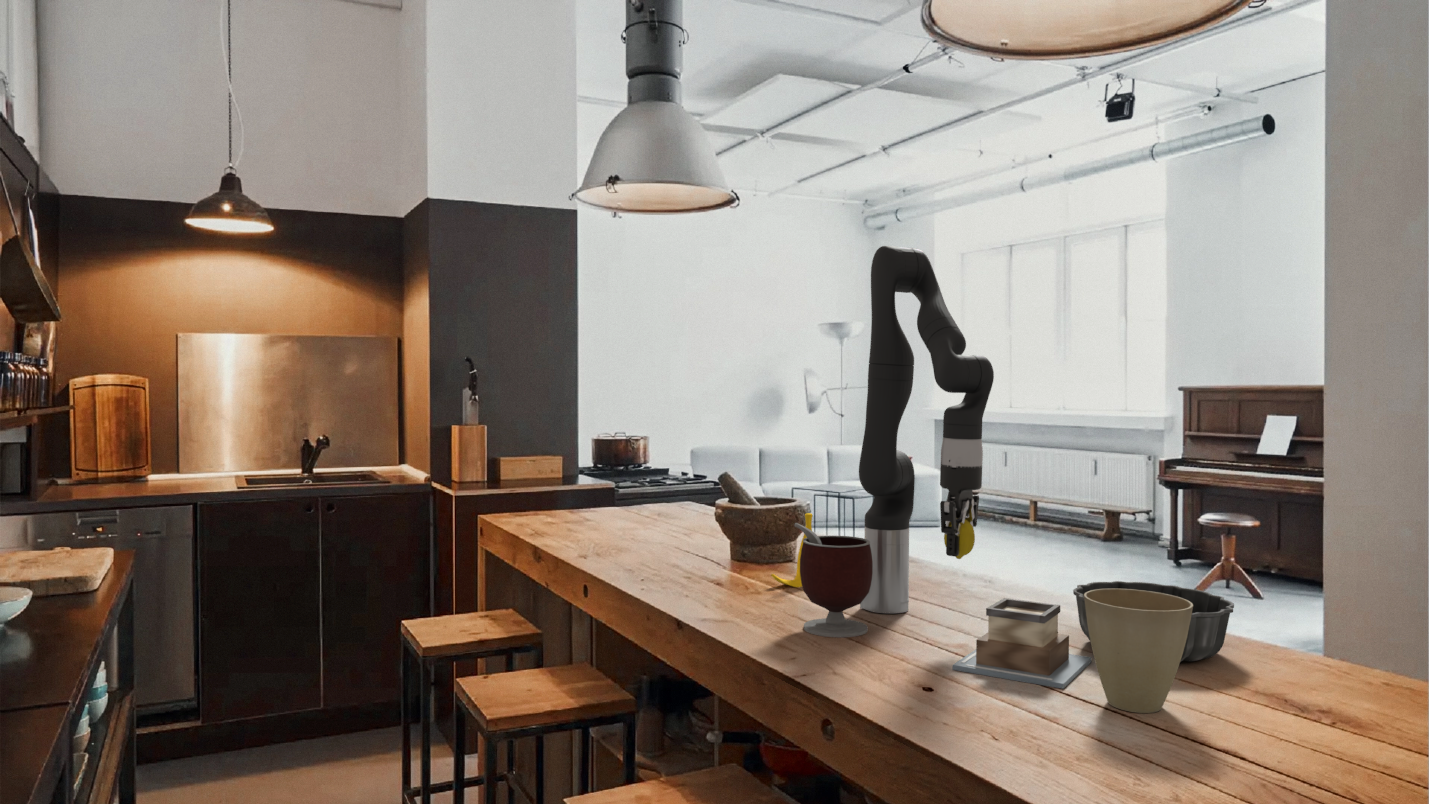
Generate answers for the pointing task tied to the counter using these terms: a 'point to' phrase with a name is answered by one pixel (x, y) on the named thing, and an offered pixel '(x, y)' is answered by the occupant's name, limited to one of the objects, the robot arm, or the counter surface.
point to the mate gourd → (835, 580)
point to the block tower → (1023, 637)
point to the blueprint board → (1056, 679)
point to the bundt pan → (1205, 617)
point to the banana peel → (797, 579)
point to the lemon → (965, 539)
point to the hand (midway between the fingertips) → (958, 553)
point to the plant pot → (1137, 644)
